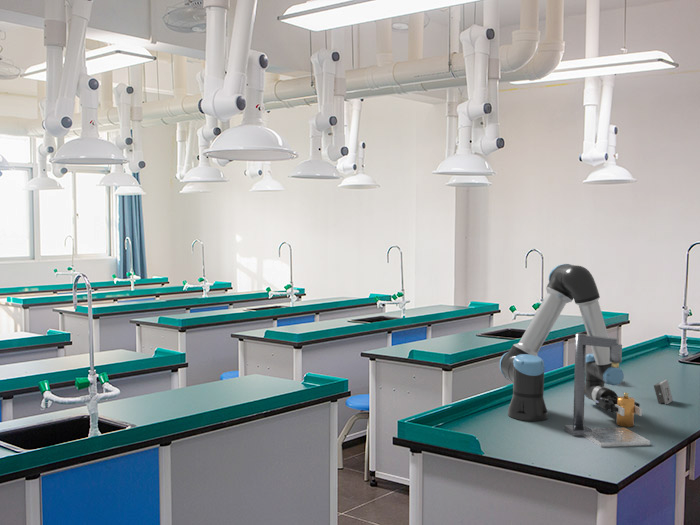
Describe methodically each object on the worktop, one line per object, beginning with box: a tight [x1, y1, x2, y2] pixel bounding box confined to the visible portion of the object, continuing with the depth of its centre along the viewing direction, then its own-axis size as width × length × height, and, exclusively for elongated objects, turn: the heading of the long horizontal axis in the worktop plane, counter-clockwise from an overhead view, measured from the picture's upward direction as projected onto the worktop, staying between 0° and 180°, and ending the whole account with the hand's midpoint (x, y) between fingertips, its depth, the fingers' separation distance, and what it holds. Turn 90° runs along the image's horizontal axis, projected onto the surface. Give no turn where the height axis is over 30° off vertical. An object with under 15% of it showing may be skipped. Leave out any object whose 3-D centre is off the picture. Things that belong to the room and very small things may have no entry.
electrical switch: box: [653, 379, 674, 405], centre depth 297 cm, size 9×5×9 cm, turn 141°
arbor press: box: [564, 333, 651, 448], centre depth 244 cm, size 22×20×36 cm
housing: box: [616, 392, 636, 428], centre depth 261 cm, size 6×6×12 cm
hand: (632, 412), depth 255 cm, fingers closed on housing, 6 cm apart
